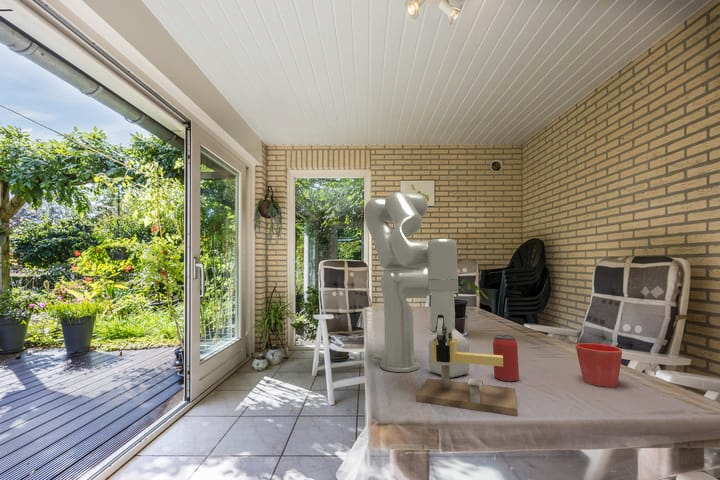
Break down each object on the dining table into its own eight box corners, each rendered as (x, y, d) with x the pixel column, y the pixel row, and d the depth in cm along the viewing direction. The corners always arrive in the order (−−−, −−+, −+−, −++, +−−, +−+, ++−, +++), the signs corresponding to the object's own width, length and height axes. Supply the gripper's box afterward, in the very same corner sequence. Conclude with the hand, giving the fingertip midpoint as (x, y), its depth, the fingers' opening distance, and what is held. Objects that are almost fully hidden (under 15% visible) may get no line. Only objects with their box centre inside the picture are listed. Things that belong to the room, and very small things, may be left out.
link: (432, 361, 85) (432, 341, 85) (436, 356, 90) (436, 337, 90) (503, 368, 79) (502, 345, 79) (503, 362, 83) (502, 341, 84)
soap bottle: (426, 372, 105) (424, 297, 107) (448, 367, 110) (446, 296, 112) (450, 380, 97) (447, 299, 99) (472, 374, 102) (470, 298, 104)
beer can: (514, 375, 101) (512, 334, 102) (522, 382, 95) (520, 338, 96) (491, 375, 102) (489, 334, 103) (498, 382, 95) (496, 338, 97)
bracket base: (415, 401, 81) (415, 371, 82) (428, 383, 94) (427, 357, 95) (517, 416, 73) (515, 382, 74) (515, 394, 86) (514, 365, 86)
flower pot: (618, 379, 97) (615, 344, 98) (629, 391, 87) (626, 352, 88) (575, 374, 102) (572, 341, 103) (581, 386, 92) (578, 349, 93)
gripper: (434, 285, 97) (436, 350, 96) (421, 287, 82) (423, 365, 80) (462, 285, 94) (464, 352, 93) (453, 288, 79) (456, 369, 77)
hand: (445, 358), depth 86 cm, fingers closed on link, 5 cm apart
